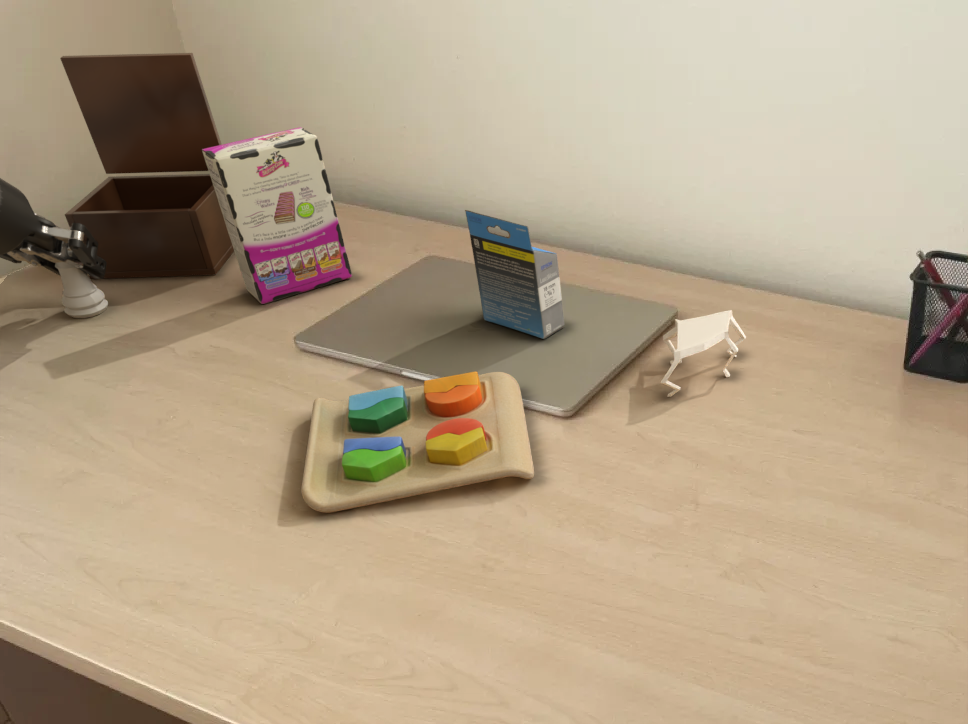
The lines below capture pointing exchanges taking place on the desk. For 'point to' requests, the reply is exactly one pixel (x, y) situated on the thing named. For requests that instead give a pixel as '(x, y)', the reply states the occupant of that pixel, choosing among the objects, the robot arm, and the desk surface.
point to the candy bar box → (279, 213)
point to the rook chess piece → (80, 292)
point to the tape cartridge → (515, 277)
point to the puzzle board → (415, 441)
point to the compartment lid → (144, 110)
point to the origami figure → (700, 339)
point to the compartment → (156, 225)
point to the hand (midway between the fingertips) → (85, 269)
